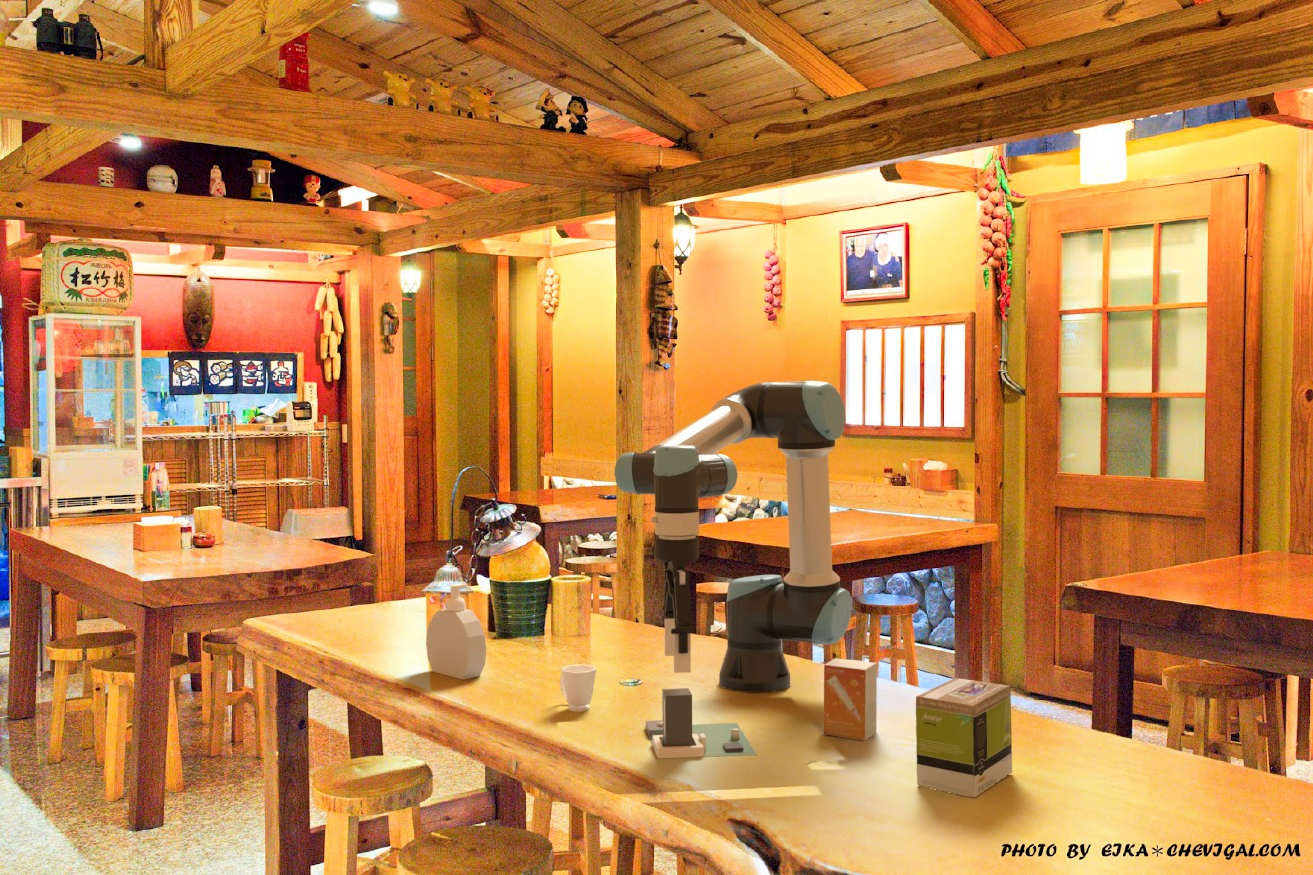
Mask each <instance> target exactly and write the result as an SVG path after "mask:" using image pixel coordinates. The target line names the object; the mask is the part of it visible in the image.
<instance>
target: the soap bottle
mask: <svg viewBox="0 0 1313 875" xmlns="http://www.w3.org/2000/svg"><path fill="white" fill-rule="evenodd" d="M466 587H467V583H457V584H451V585H450V597H449V598H447V599H446V600H445V608H443V609H438V610H437V611H436V612H435V613H434V614H433V615H432V616H431V619H430V621H429V625H428V627H427V629H426V630H427V632H426V643H425V644H426V645H425V646H426V653H427V659H428V663H429V666H430V668H431V671H432V673H435V674H440V675H444V676H447V677H451V678H453V679H456V680H457V679H458V680H462V681H465V680H469V679H474V678H478V677H481V675H482V672H483V670H484V667H485V665H486V659H487V657H486V656H487V642H486V635H485V632H484V629H483V627H482V623H481V620H480V619H479V617H477V615H476V614H475V613H474V611H473V610H471V609H467V608H466V607H467V606H466V601H465V599H464V598H463V597H461V590H460V589H464V588H466Z"/></svg>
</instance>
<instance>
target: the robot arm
mask: <svg viewBox="0 0 1313 875" xmlns="http://www.w3.org/2000/svg"><path fill="white" fill-rule="evenodd" d="M846 422H847V421H846V409H845V404H844V401H843V398H842V396H841V394H840V392H839V391H838V389H837V388H836V387H835V385H833V384H831V383H830V382H826V381H817V380H816V381H815V380H804V381H803V380H802V381H801V380H800V381H798V380H796V381H762V382H758V383H755V384H751V385H748V386H746V387H744V388H741V389H738V390H737V391H735V392H732V393H731V394H728V395H726V396H725V397H723V398H721V399H719V400H718V401H717V402H716V403H714V405H713V406H712V408H711V410H710V412H708V413H707V414H705V415H703V416H702V417H699V418H698V419H697V420H694V421H693V422H692V423H690V424H688V425H687V426H685V427H683V428H682V429H680V430H678V431H676V432H675V433H674V434H672V435H670V436H669V437H667V438H665V439H663V440H662V441H660V442H659V443H657V444H656V445H654V446H652V447H650V448H648V449H647V450H645V451H643V452H637V451H632V452H624V453H623V454H621V455H620V456H619V457H618V459H617V460H616V463H615V466H614V472H613V473H614V477H615V483H616V485H617V487H618V489H619V490H620V491H622V492H623V493H628V494H636V495H652V496H653V495H654V515H655V516H653V517H651V519H650V522H651V523H652V524H654V534H655V535H656V536H657V537H656V538H655V539H654V558H655V560H657V561H659V562H664V564H663V566H664V570H663V576H664V577H663V578H664V580H663V581H664V585H663V605H662V611H663V615H664V656H665V657H671V656H672V657H673V673H674V674H675V673H676V674H683V673H684V674H685V673H691V672H692V667H691V666H692V663H691V662H692V660H691V659H692V658H691V657H692V656H691V655H692V653H691V651H692V648H691V646H692V643H691V642H692V641H691V639H692V638H691V637H692V636H691V634H692V632H693V630H694V626H693V617H692V601H691V581H690V580H691V572H690V571H688V569H687V564H686V563H687V562H693V561H694V562H695V561H696V560H699V558H700V545H699V544H700V540H699V538H698V537H697V535H699V534H700V511H699V499H702V498H705V499H706V498H712V497H714V498H718V497H720V496H723V495H726V494H728V493H730V492H731V491H732V490H733V489H734V488H735V487H736V484H737V480H738V468H737V465H736V464H735V462H734V461H733V460H732V459H731V457H729V456H727V455H725V454H721V453H719V451H721V450H723V449H724V448H726V447H728V446H729V445H731V444H734V445H735V444H740V443H742V442H744V441H745V440H747V439H753V438H755V439H756V438H757V439H758V438H761V439H765V438H766V439H777V448H778V449H777V450H779V451H780V452H781V453H782V454H783V455H784V456H785V466H786V467H785V468H786V469H785V470H786V471H785V472H786V475H785V476H786V496H787V497H786V498H787V519H788V520H787V521H788V522H787V523H788V545H789V548H788V549H789V567H790V568H789V569H790V570H789V572H788V573H787V574H786V575H785V576H784V577H783V578H782V576H781V575H780V574H761V575H751V576H744V577H739V578H735V579H733V580H731V581H730V582H729V583H728V586H727V594H726V600H725V602H726V614H727V615H726V619H727V620H726V621H727V623H726V626H727V627H726V628H727V630H726V631H727V632H726V633H727V647H726V648H727V649H726V652H725V654H724V657H723V661H722V664H721V668H720V670H719V678H718V679H719V681H718V682H719V685H720V686H721V687H722V688H725V689H727V690H730V691H731V690H732V691H735V692H742V693H743V692H745V693H769V692H778V691H783V690H785V689H787V688H788V687H790V686H791V673H790V670H789V666H788V663H787V661H786V657H785V654H784V651H783V641H782V640H785V641H793V642H800V643H802V642H803V643H809V644H813V645H816V646H817V645H834V644H837V643H838V642H840V640H842V638H843V637H844V635H845V633H846V632H847V629H848V627H849V624H850V621H851V617H852V610H853V600H852V596H851V593H850V591H849V590H847V589H845V588H844V587H843V588H842V587H841V577H840V575H838V574H837V573H836V572H835V571H834V570H833V557H832V556H833V553H832V552H833V551H832V531H831V530H832V529H831V505H830V504H831V501H830V500H831V499H830V497H831V496H830V476H829V475H830V474H829V473H830V471H829V454H830V453H831V452H832V451H833V450H834V449H835V448H836V440H837V439H840V438H841V437H842V435H843V434H844V431H845V426H846Z"/></svg>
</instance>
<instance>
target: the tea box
mask: <svg viewBox="0 0 1313 875" xmlns="http://www.w3.org/2000/svg"><path fill="white" fill-rule="evenodd" d="M1011 693H1012V692H1011V685H1008V684H1000V683H993V682H985V681H978V680H973V679H971V680H970V679H964V678H960V677H959V678H958V677H954V678H952V679H950V680H947V681H946V682H944V683H942V684H940V685H937V686H935V687H933V688H932V689H929V690H927V691H925V692H923V693H921V694H918V695H916V696H915V736H916V744H915V745H916V784H917V786H918V787H920V788H925V787H927V788H926V789H929V788H932V789H931V790H933V789H936V790H935V791H938V790H940V791H939V792H943V791H944V792H943V793H947V792H950V793H949V794H952V793H955V794H954V795H956V794H958V795H957V796H961V795H963V796H962V797H966V796H967V798H971V797H975V798H976V797H978V796H979V795H980V794H982V793H984V792H985V791H986V790H989V789H990V788H991V787H992V786H994V785H996V784H997V783H999V782H1000V781H1002V780H1003V779H1005V778H1006V777H1008V776H1009V775H1010V774H1013V753H1012V749H1013V748H1012V747H1013V746H1012V742H1013V741H1012V735H1013V734H1012V732H1013V731H1012V702H1011V701H1012V700H1011V699H1012V698H1011V696H1012V694H1011ZM1007 775H1008V776H1007ZM1001 779H1002V780H1001ZM995 783H996V784H995ZM989 787H990V788H989Z"/></svg>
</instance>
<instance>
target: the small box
mask: <svg viewBox="0 0 1313 875" xmlns="http://www.w3.org/2000/svg"><path fill="white" fill-rule="evenodd" d="M877 672H878V663H877V662H871V661H865V660H858V659H846V658H845V659H844V658H838V657H837V658H833V659H831V660H829V661H828V662H826V663H825V664H824V667H823V735H825V736H833V737H838V738H839V737H840V738H845V739H852V740H857V741H862V742H866V741H867V740H868V739H870V738H871V737H872V736H874V735H875V734H876V733H877V712H878V710H877V709H878V708H877V704H878V701H877V700H878V699H877V697H878V696H877V691H878V690H877V689H878V688H877V687H878V686H877V682H878V681H877V678H878V677H877ZM874 733H875V734H874ZM869 737H870V738H869Z"/></svg>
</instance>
